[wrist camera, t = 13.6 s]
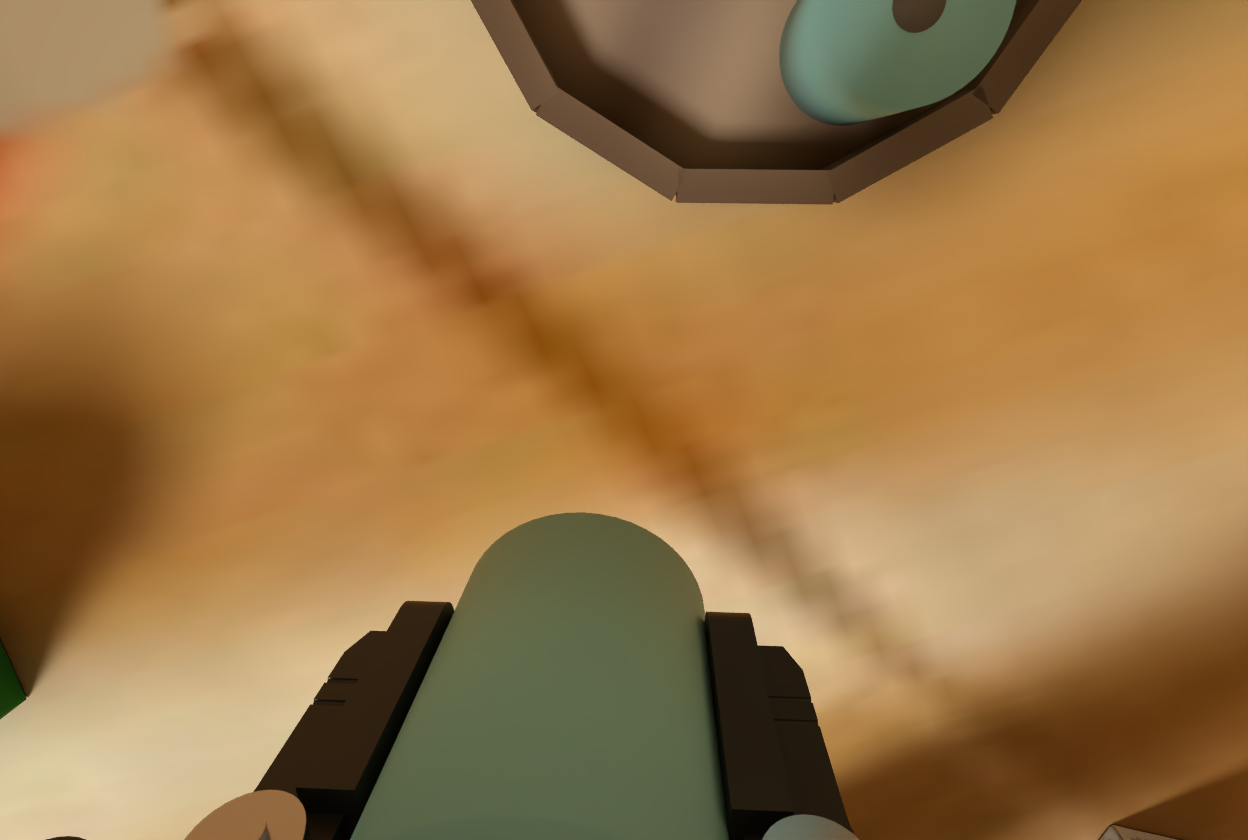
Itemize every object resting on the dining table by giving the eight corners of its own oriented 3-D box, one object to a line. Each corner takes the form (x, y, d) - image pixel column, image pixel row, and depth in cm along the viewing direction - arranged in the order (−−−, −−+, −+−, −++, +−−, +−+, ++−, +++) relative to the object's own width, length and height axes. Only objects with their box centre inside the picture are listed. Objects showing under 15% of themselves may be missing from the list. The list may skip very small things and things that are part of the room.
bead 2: (934, -36, 19) (1039, -117, 14) (910, 125, 20) (996, 107, 15) (785, -34, 19) (834, -113, 14) (773, 126, 21) (813, 108, 16)
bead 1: (752, 586, 11) (838, 939, 6) (625, 742, 13) (607, 1135, 7) (533, 468, 11) (419, 750, 5) (426, 647, 12) (255, 1004, 7)
